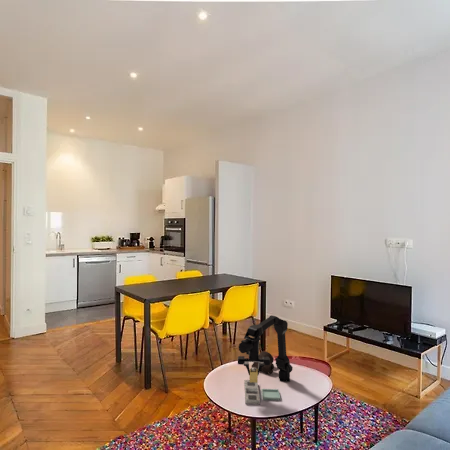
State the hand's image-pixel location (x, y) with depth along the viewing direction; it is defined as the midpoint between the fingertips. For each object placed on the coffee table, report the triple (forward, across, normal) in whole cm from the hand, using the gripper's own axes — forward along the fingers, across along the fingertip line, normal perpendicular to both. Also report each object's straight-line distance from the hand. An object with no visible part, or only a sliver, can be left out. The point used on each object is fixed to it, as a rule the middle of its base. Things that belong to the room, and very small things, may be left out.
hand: (253, 375), depth 208 cm
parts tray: (+12, -10, 0) cm, 16 cm away
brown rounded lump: (+12, -9, -37) cm, 41 cm away
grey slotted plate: (+12, +1, -2) cm, 12 cm away
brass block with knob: (+3, 0, 0) cm, 3 cm away
